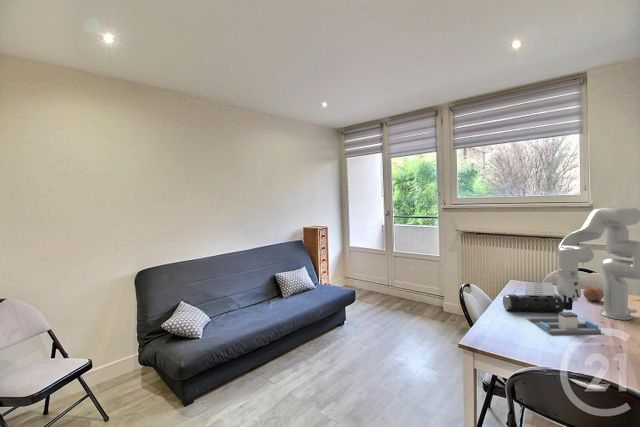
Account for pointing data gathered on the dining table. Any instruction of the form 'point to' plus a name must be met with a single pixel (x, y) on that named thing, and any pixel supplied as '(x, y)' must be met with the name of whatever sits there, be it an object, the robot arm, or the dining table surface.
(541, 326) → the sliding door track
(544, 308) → the muzzle brake
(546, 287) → the warehouse
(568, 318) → the grey rectangular prism
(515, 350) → the dining table surface
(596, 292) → the onion
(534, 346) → the dining table surface
